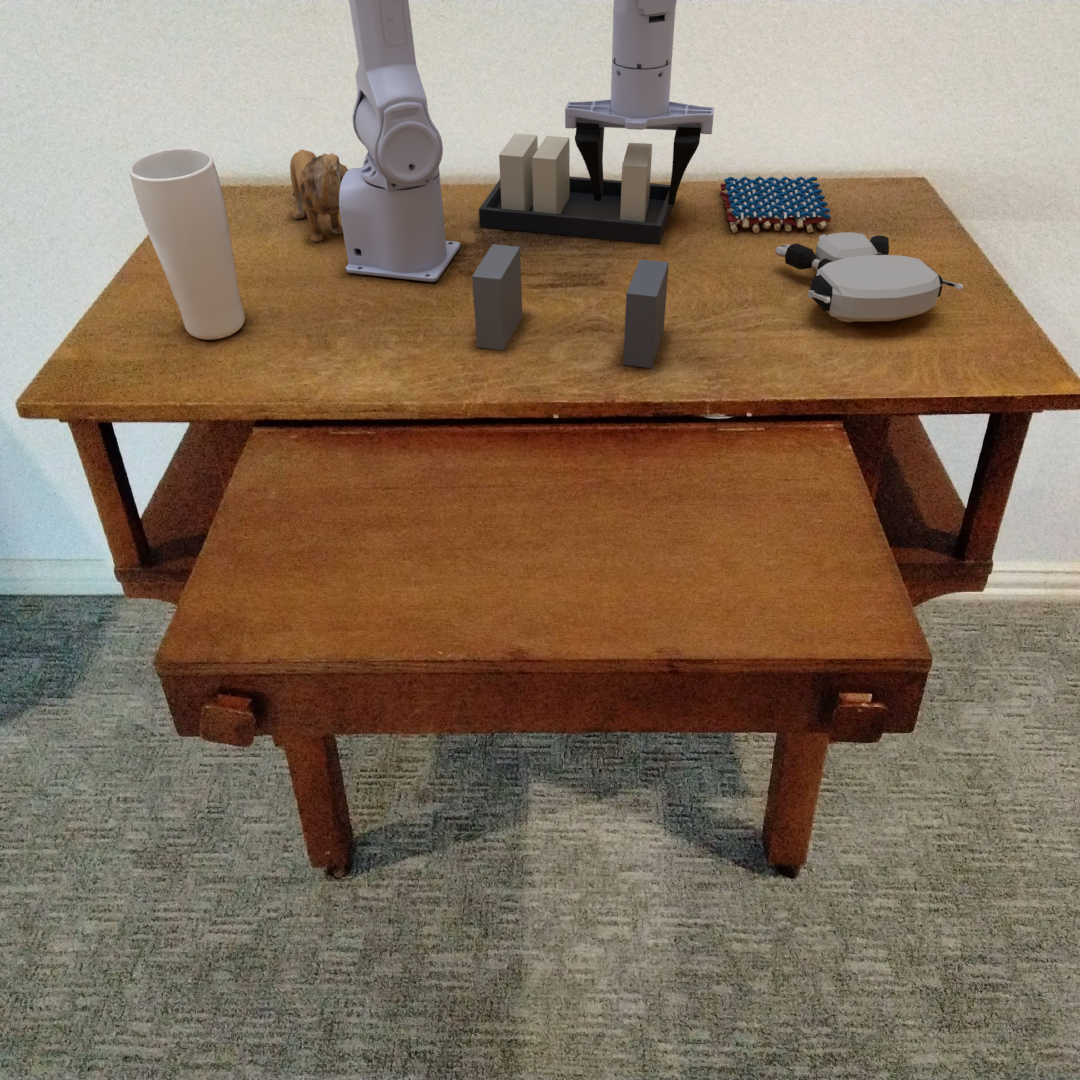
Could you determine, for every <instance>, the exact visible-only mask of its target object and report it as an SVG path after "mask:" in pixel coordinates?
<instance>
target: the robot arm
mask: <svg viewBox="0 0 1080 1080" xmlns="http://www.w3.org/2000/svg"><path fill="white" fill-rule="evenodd" d="M677 1H678V0H613V7H612V8H613V9H612V15H613V16H612V41H611V43H612V47H611V72H610V73H611V74H610V76H611V79H610V99H602V100H591V101H590V100H589V101H567V103H566V105H565V109H564V128H565V129H575V135H574V142H575V145H576V148H577V149H578V151H579V153H580V156H581V157H582V160H583V162H584V164H585V168H586V169H587V173H588V176H589V178H590V179H591V183H592V188H593V193H594V201H601V198H602V195H603V183H604V182H603V179H604V165H603V164H604V163H603V162H604V161H603V159H604V158H603V157H604V141H605V139H604V137H605V128H608V129H609V128H611V129H612V128H613V129H627V130H641V131H642V130H656V131H657V130H658V131H659V130H660V131H675V133H674V138H673V150H672V167H671V177H670V184H669V185H670V190H669V196H668V205H674V206H675V205H676V200H677V199H676V198H677V194H678V191H679V187H680V184H681V183H682V178H683V176H684V174H685V172H686V169H687V168H688V166H689V163H690V162H691V160H692V158H693V156H694V155H695V153H696V151H697V150H698V148H699V145H700V141H701V135H712V134H713V125H714V115H715V107H714V106H713V107H712V106H702V105H701V106H699V105H693V104H688V103H683V102H676V101H675V102H674V101H670V96H671V95H670V94H671V81H672V80H671V79H672V66H673V50H674V37H675V22H676V21H675V19H676V9H677V8H676V6H677ZM348 3H349V10H350V16H351V23H352V31H353V35H354V40H355V48H356V53H357V54H356V55H357V61H358V63H357V64H358V65H357V68H356V71H355V82H356V90H357V93H356V99H355V104H354V107H353V110H352V117H351V118H352V128H353V131H354V133H355V135H356V137H357V139H358V140H359V142H360V143H361V144H362V145H363V146H364V147H365V149H366V150H367V153H366V154H365V156H364V160H363V164H362V166H361V167H352V168H349V169H348V171H347V172H346V173H345V175H344V177H343V179H342V182H341V185H340V192H339V216H340V221H341V226H342V228H343V233H342V234H343V241H344V246H345V252H346V259H347V262H348V263H347V265H346V266H345V272H346V273H347V274H348V273H349V274H356V275H366V276H374V277H382V278H383V277H384V278H391V279H392V278H393V279H401V280H410V281H421V282H428V283H435V282H437V281H438V280H439V279H440V277H441V276H442V274H443V273H444V272H445V270H446V268H447V267H448V266H449V265H450V263H451V262H452V260H453V258H454V257H455V256H456V254H457V253H458V251H459V250H460V249H461V243H460V242H459V241H453V240H446V228H445V217H444V207H443V196H442V195H443V194H442V185H441V183H442V182H441V173H440V165H441V161H442V158H443V153H444V145H443V140H442V136H441V134H440V131H439V130H438V128H437V127H436V125H435V124H434V122H433V121H432V118H431V116H430V114H429V107H428V100H427V96H426V92H425V88H424V86H423V82H422V80H421V77H420V73H419V70H418V67H417V66H418V65H417V61H416V59H417V58H416V51H415V44H414V43H415V42H414V35H413V28H412V19H411V11H410V3H409V0H348Z"/></svg>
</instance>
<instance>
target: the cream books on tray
mask: <svg viewBox="0 0 1080 1080" xmlns="http://www.w3.org/2000/svg"><path fill="white" fill-rule="evenodd" d="M570 141H571V140H570V137H568V136H552V135H546V136H545V137H544V139H543V141H542V142H541V143H540V145H538V142H539V141H538V134H528V133H518V132H517V133H513V135H512V137H511V138H510V139H509V141H508V142H507V143H506V145H505V146H504V148H502V150H501V151H500V153H499V154H498V159H499V160H498V162H499V164H498V165H499V180H500V184H501V205H502V209H510V210H521V211H529V209H530V208H531V206H532V205H533V208H534V212H543V213H553V214H560V213H561V212H562V210H563V208H564V206H565V204H566V203H567V201H568V199H569V196H570V173H571V172H570V169H571V168H570V165H571V164H570V163H571V162H570V159H571V158H570V153H571V152H570V149H571V148H570Z"/></svg>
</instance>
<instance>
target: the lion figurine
mask: <svg viewBox="0 0 1080 1080" xmlns="http://www.w3.org/2000/svg"><path fill="white" fill-rule="evenodd" d="M290 159H291V160H290V165H289V170H290V171H289V172H290V173H289V174H290V181H291V185H292V186H291V187H292V190H293V192H292V196H293V197H294V203H295V210H294V213H293V218H294V220H295V219H296V220H300V219H303V218H305V216H306V218H307V220H308V224H309V228H310V231H311V235H310V240H311V241H312V242H313V243H314V242H316V243H318V242H321V241H323V240H324V238H323V231H322V229H321V227H320V223H319V220H318V214H320V215H321V216H326V215H328V216H329V228H330V230H331V231H332V232H333V233H334V234H335V235H342V234H343V228H342V225H340V220H339V216H340V209H339V192H340V185H341V182H342V179H343V177H344V175H345V173H346V172H347V171H348V170H349V169H348V167H347V166H346V165H344V164H342V163H341V161H340V157H339V156H338V155H337V154H335V153H323V154H321V155H318V156H317V155H316V154H315V153H314V152H312V151H309V150H305V149H300V150H298V151H297V152H295V153H294V154H293V155H292V157H291V158H290ZM303 204H304V205H303ZM304 210H305V211H304ZM305 214H306V215H305Z"/></svg>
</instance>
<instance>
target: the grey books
mask: <svg viewBox="0 0 1080 1080" xmlns="http://www.w3.org/2000/svg"><path fill="white" fill-rule="evenodd" d="M521 265H522V264H521V246H514V245H505V244H495V243H493V244H491V246H490V247H489V249H488V250H487V252H486V254H485V255H484V257H483V259H482V260H481V262H480V263H479V265H478V266H477V267H476V269H475V271H474V272H473V274H472V275H471V282H472V295H473V297H472V298H473V308H474V321H475V335H476V348H481V349H490V350H498V351H505V350H506V348H507V347H508V344H509V343H510V341H511V339H512V338H513V335H514V333H515V331H516V329H517V328H518V325H519V324H520V322H521V320H522V318H523V296H522V295H523V294H522V293H523V292H522V270H521V269H522V266H521ZM668 277H669V261H661V260H652V259H651V260H650V259H642V258H641V259H639V260H638V262H637V265H636V268H635V271H634V272H633V275H632V278H631V280H630V283H629V285H628V288H627V291H626V295H625V313H624V315H625V316H624V334H623V335H624V340H623V361H622V364H623V366H628V367H635V368H645V369H653V367H654V364H655V360H656V357H657V354H658V352H659V348H660V344H661V341H662V338H663V336H664V331H665V320H666V319H665V317H666V303H667V291H668Z"/></svg>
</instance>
